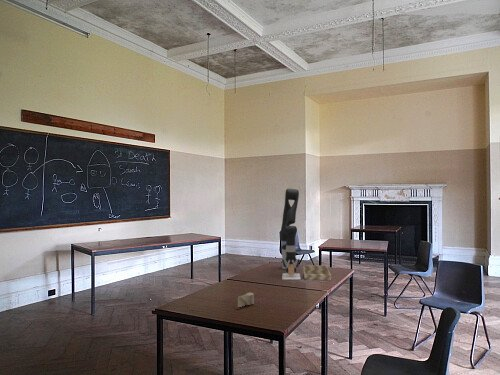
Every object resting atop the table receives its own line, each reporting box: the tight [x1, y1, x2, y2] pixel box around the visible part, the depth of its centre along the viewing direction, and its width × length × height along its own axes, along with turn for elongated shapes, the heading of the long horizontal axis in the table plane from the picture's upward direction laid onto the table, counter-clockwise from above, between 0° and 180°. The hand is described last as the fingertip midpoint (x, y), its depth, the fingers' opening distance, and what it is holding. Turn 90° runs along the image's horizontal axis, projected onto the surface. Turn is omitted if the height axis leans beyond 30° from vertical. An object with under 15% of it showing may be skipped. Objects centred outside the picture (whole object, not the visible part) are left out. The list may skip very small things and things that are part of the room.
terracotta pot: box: [288, 264, 296, 275], centre depth 290 cm, size 6×6×8 cm
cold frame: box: [302, 265, 332, 281], centre depth 288 cm, size 20×20×7 cm
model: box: [237, 292, 255, 308], centre depth 214 cm, size 3×11×8 cm, turn 141°
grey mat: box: [281, 272, 301, 281], centre depth 290 cm, size 14×20×1 cm
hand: (291, 272), depth 290 cm, fingers closed on terracotta pot, 5 cm apart
